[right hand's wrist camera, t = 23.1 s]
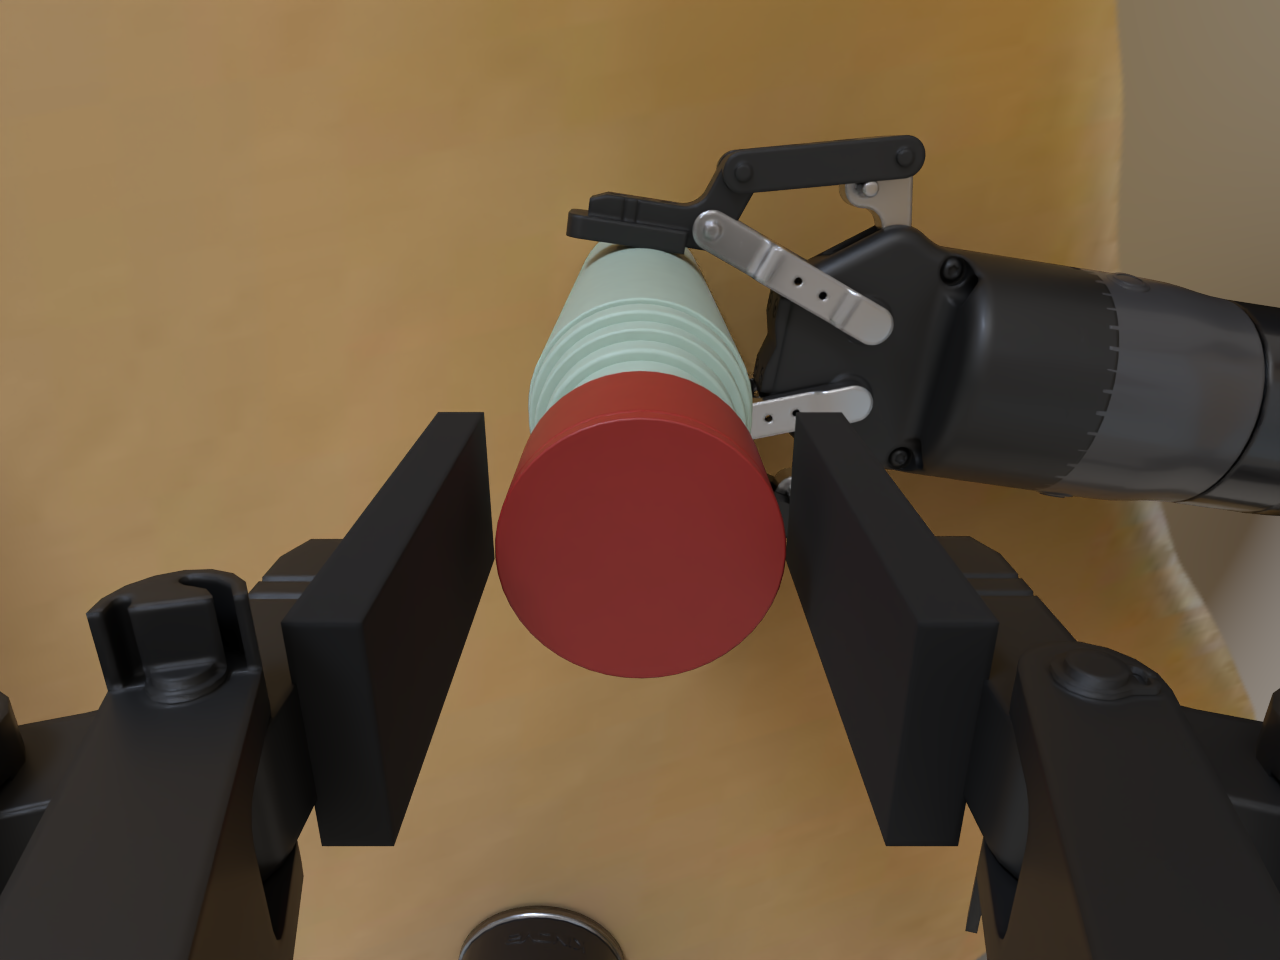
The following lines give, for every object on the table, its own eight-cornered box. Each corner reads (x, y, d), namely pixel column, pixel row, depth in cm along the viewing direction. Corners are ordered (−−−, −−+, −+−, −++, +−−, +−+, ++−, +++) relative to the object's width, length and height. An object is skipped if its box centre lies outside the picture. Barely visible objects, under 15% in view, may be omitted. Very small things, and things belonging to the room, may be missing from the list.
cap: (771, 579, 15) (796, 662, 13) (543, 607, 15) (524, 694, 13) (751, 353, 13) (774, 398, 11) (496, 387, 14) (465, 439, 11)
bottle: (711, 234, 33) (837, 398, 12) (691, 357, 35) (771, 690, 14) (585, 217, 33) (485, 353, 12) (573, 342, 34) (466, 656, 13)
